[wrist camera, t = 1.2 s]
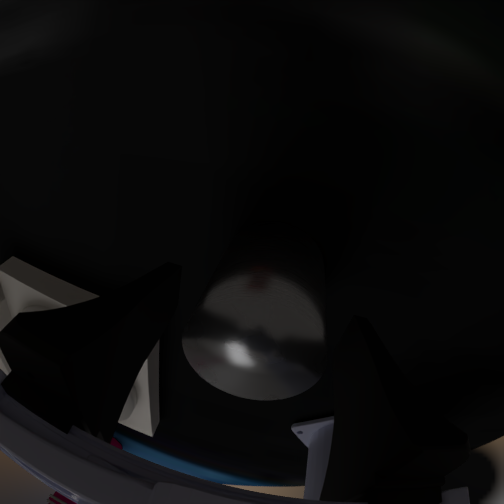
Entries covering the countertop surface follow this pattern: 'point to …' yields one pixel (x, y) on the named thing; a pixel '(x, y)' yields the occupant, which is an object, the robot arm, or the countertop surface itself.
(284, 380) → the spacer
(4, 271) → the scale
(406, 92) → the countertop surface
